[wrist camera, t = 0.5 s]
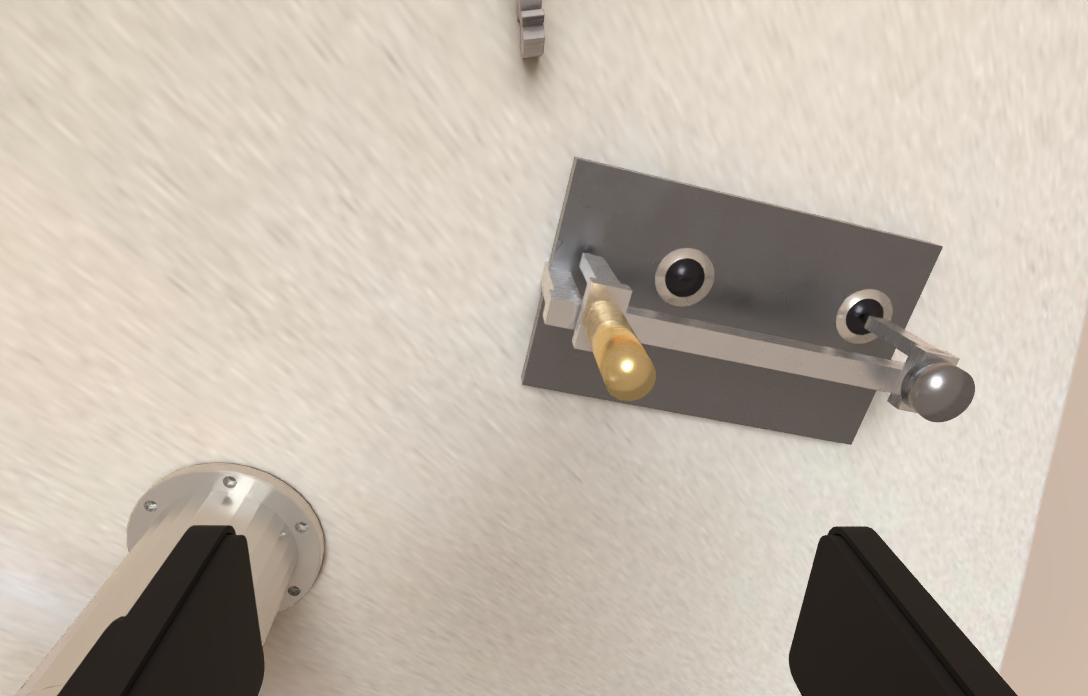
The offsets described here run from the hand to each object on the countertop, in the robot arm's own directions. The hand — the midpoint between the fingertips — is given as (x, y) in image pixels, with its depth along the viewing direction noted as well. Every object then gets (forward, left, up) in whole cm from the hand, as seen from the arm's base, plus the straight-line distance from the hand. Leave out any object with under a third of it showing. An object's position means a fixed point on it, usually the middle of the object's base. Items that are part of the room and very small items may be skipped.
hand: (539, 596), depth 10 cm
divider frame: (-2, -14, -29) cm, 32 cm away
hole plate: (-2, -14, -29) cm, 33 cm away
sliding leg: (-1, -5, -28) cm, 28 cm away
